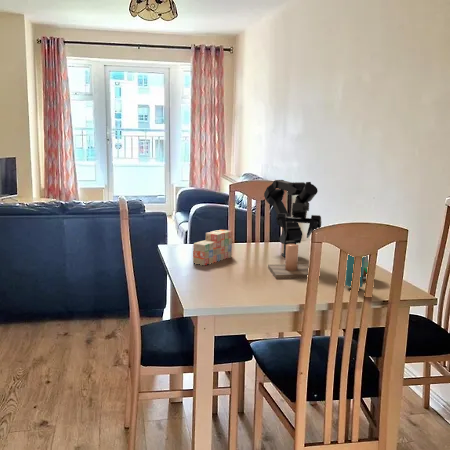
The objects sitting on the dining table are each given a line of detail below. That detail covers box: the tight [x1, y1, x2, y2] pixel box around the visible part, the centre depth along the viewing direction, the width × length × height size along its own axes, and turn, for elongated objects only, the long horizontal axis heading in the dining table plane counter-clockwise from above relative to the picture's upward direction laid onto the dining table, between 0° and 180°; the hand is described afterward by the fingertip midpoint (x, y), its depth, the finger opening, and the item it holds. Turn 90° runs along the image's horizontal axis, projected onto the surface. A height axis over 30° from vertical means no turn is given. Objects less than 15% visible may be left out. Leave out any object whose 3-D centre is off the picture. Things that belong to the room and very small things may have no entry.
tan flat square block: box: [267, 263, 309, 280], centre depth 214 cm, size 16×16×2 cm
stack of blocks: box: [192, 229, 233, 266], centre depth 231 cm, size 21×6×12 cm, turn 147°
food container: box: [363, 256, 368, 282], centre depth 207 cm, size 12×6×10 cm, turn 168°
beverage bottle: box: [345, 255, 365, 288], centre depth 191 cm, size 6×7×20 cm
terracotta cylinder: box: [284, 243, 299, 271], centre depth 213 cm, size 5×5×10 cm
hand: (296, 236), depth 219 cm, fingers open, 9 cm apart
